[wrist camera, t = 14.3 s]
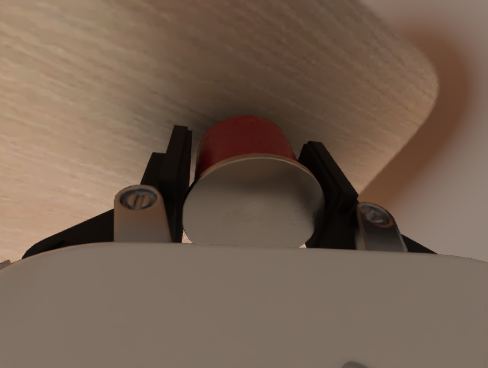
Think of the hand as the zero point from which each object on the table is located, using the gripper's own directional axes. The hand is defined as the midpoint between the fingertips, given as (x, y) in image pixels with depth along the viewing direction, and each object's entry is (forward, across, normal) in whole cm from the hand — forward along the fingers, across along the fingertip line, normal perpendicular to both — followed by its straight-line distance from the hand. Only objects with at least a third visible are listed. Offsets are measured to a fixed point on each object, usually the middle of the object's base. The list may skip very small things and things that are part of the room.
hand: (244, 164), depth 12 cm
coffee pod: (0, 0, 0) cm, 0 cm away
